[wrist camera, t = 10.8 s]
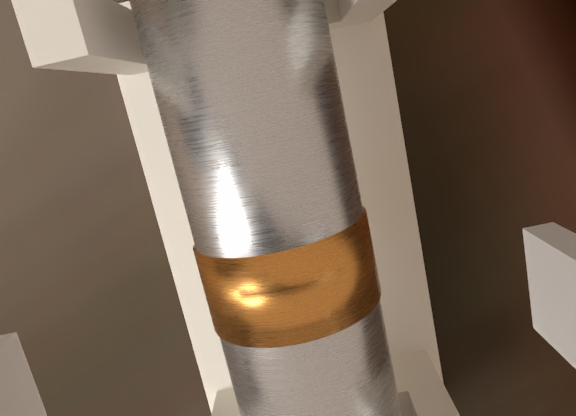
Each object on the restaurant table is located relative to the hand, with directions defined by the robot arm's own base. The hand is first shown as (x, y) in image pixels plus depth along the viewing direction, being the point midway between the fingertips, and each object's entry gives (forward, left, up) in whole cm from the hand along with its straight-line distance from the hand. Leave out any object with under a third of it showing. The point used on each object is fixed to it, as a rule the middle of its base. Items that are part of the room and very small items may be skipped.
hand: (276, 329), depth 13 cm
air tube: (0, 0, -9) cm, 9 cm away
